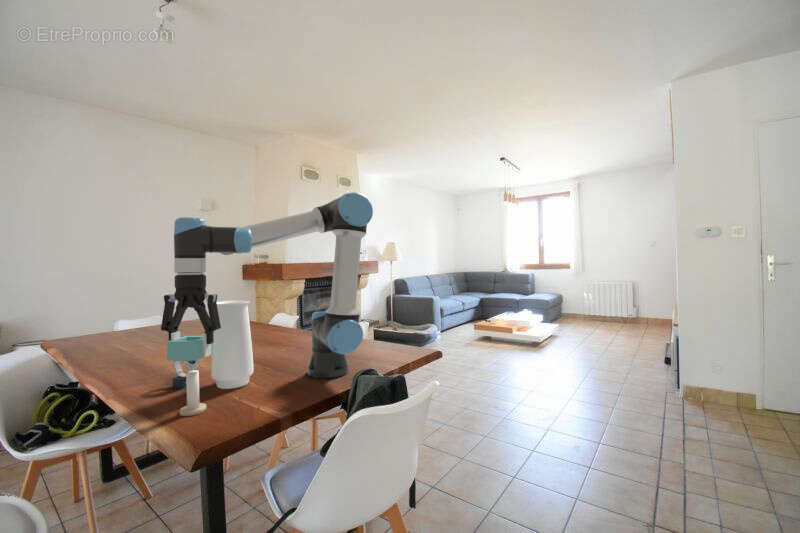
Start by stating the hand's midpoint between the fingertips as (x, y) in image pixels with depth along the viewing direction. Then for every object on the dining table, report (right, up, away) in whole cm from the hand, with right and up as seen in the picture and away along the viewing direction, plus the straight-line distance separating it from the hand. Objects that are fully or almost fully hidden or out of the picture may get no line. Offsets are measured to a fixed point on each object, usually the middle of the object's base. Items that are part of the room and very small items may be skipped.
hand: (191, 355), depth 96 cm
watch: (-15, -16, +22) cm, 31 cm away
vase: (+1, -16, +22) cm, 27 cm away
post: (0, -16, 0) cm, 16 cm away
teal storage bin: (0, 0, 0) cm, 0 cm away
